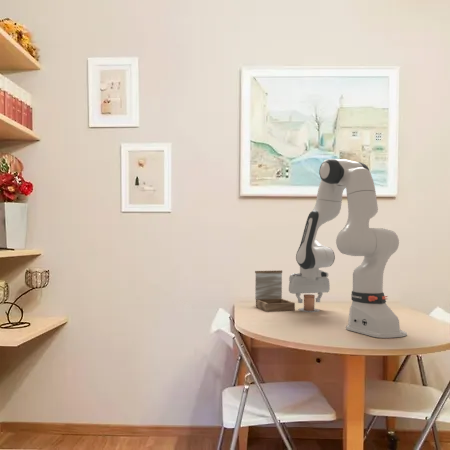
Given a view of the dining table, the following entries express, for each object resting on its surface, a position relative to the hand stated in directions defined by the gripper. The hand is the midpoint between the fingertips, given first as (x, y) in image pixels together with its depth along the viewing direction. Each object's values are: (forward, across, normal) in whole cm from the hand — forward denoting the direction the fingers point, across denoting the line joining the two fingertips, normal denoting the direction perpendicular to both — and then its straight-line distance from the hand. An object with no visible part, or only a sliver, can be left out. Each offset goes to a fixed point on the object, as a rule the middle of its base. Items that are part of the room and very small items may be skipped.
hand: (309, 302), depth 195 cm
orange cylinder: (+4, 0, 0) cm, 4 cm away
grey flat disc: (+4, 0, 0) cm, 4 cm away
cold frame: (+4, -14, +8) cm, 17 cm away
